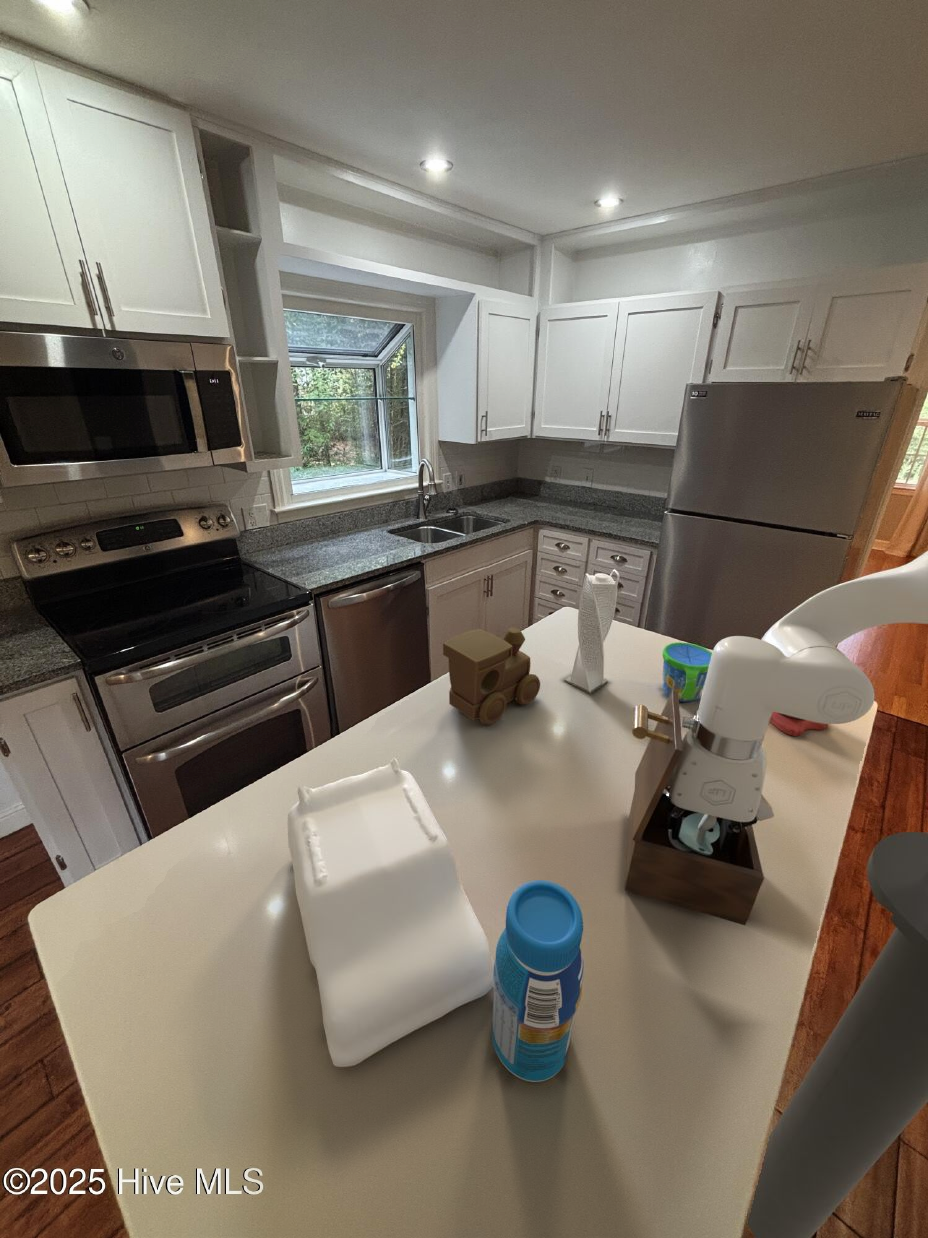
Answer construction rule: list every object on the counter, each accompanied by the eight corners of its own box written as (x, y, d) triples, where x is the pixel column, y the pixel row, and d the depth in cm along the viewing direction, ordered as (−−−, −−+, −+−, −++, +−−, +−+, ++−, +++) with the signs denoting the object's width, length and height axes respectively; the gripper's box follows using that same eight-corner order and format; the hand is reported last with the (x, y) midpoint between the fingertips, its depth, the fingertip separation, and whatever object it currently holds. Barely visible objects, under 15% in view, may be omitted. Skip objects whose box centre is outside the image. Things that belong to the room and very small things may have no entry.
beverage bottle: (473, 1038, 52) (477, 914, 43) (521, 974, 58) (533, 854, 49) (540, 1110, 47) (559, 987, 38) (586, 1033, 52) (612, 910, 44)
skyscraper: (612, 684, 113) (632, 568, 101) (592, 698, 108) (610, 577, 96) (581, 670, 119) (596, 558, 107) (561, 682, 114) (574, 566, 102)
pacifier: (660, 846, 69) (706, 869, 65) (667, 812, 66) (716, 835, 63) (677, 813, 74) (720, 833, 70) (684, 781, 71) (729, 800, 68)
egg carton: (410, 806, 80) (407, 740, 74) (504, 991, 56) (509, 915, 50) (287, 849, 73) (273, 779, 67) (333, 1086, 48) (317, 1008, 43)
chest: (731, 845, 74) (747, 801, 70) (745, 926, 63) (764, 878, 59) (628, 819, 78) (637, 776, 74) (624, 890, 67) (634, 843, 64)
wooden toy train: (477, 737, 96) (479, 663, 89) (439, 710, 104) (439, 640, 97) (544, 698, 108) (551, 630, 101) (506, 676, 116) (510, 612, 109)
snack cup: (707, 719, 102) (718, 677, 98) (653, 707, 106) (661, 666, 101) (705, 681, 115) (715, 642, 111) (657, 671, 119) (664, 633, 114)
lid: (678, 691, 67) (639, 679, 68) (683, 751, 56) (637, 736, 57) (640, 775, 74) (606, 763, 75) (638, 842, 63) (598, 827, 64)
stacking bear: (791, 738, 97) (820, 659, 89) (749, 709, 105) (772, 634, 98) (832, 728, 100) (863, 650, 92) (788, 700, 108) (813, 627, 101)
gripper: (653, 737, 61) (632, 843, 68) (816, 770, 56) (772, 879, 63) (653, 703, 67) (633, 803, 75) (799, 729, 62) (761, 834, 70)
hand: (697, 837), depth 69 cm, fingers closed on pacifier, 5 cm apart
